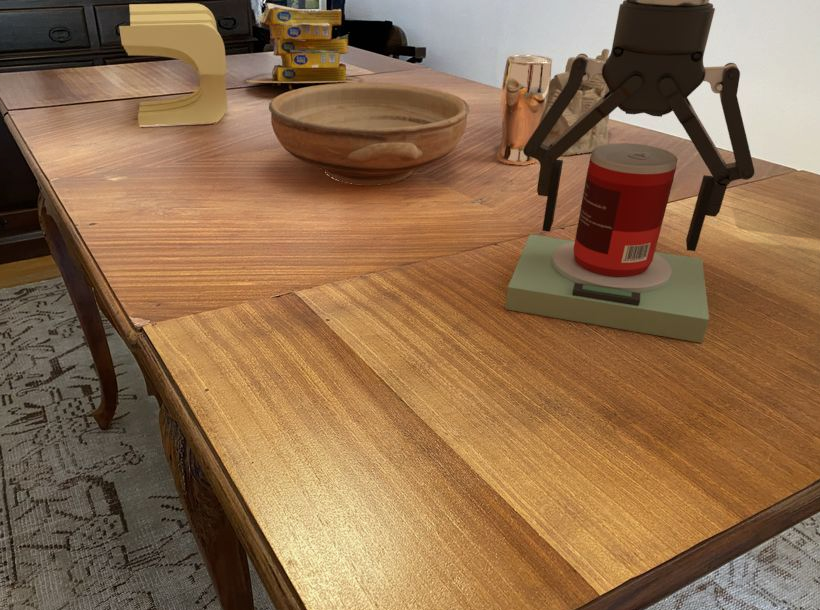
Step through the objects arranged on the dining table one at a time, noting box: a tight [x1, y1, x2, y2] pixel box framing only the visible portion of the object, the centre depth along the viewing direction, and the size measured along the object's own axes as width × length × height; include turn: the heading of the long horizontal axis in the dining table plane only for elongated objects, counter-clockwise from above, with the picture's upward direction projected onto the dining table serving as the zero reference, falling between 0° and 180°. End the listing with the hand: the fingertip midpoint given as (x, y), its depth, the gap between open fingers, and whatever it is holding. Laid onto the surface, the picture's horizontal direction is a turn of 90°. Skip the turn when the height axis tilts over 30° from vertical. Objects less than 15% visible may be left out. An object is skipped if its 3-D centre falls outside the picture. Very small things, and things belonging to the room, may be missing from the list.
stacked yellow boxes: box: [246, 2, 362, 91], centre depth 150 cm, size 25×25×17 cm
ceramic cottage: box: [541, 48, 610, 156], centre depth 117 cm, size 16×16×15 cm
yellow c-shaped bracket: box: [118, 2, 228, 126], centre depth 128 cm, size 30×16×18 cm, turn 12°
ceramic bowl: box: [268, 81, 470, 186], centre depth 103 cm, size 37×29×10 cm
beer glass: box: [496, 54, 553, 166], centre depth 107 cm, size 7×7×15 cm
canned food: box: [573, 142, 678, 277], centre depth 69 cm, size 8×8×11 cm
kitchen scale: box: [504, 234, 710, 344], centre depth 72 cm, size 18×14×3 cm
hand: (617, 236), depth 70 cm, fingers open, 13 cm apart
